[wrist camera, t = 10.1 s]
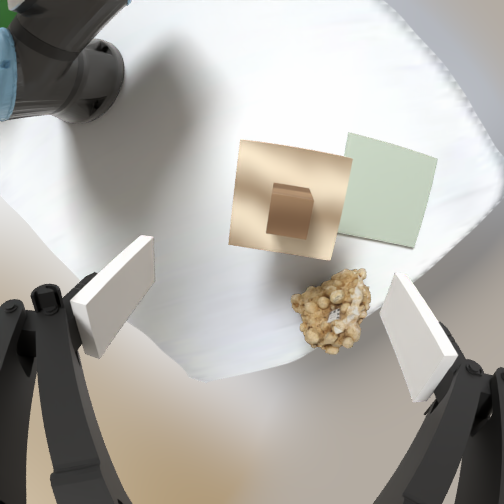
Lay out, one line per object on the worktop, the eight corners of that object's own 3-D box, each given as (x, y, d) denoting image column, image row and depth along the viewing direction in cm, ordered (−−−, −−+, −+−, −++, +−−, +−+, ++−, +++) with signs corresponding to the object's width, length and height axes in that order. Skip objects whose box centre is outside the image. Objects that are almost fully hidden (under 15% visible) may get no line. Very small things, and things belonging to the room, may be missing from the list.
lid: (241, 139, 27) (231, 141, 22) (351, 157, 27) (366, 165, 22) (229, 241, 32) (218, 265, 27) (329, 257, 31) (337, 284, 26)
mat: (348, 132, 37) (349, 132, 37) (436, 158, 37) (437, 158, 36) (328, 229, 44) (329, 231, 43) (412, 246, 43) (413, 247, 43)
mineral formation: (283, 291, 49) (281, 353, 35) (346, 242, 44) (370, 292, 30) (312, 320, 51) (318, 383, 37) (374, 275, 46) (402, 331, 32)
